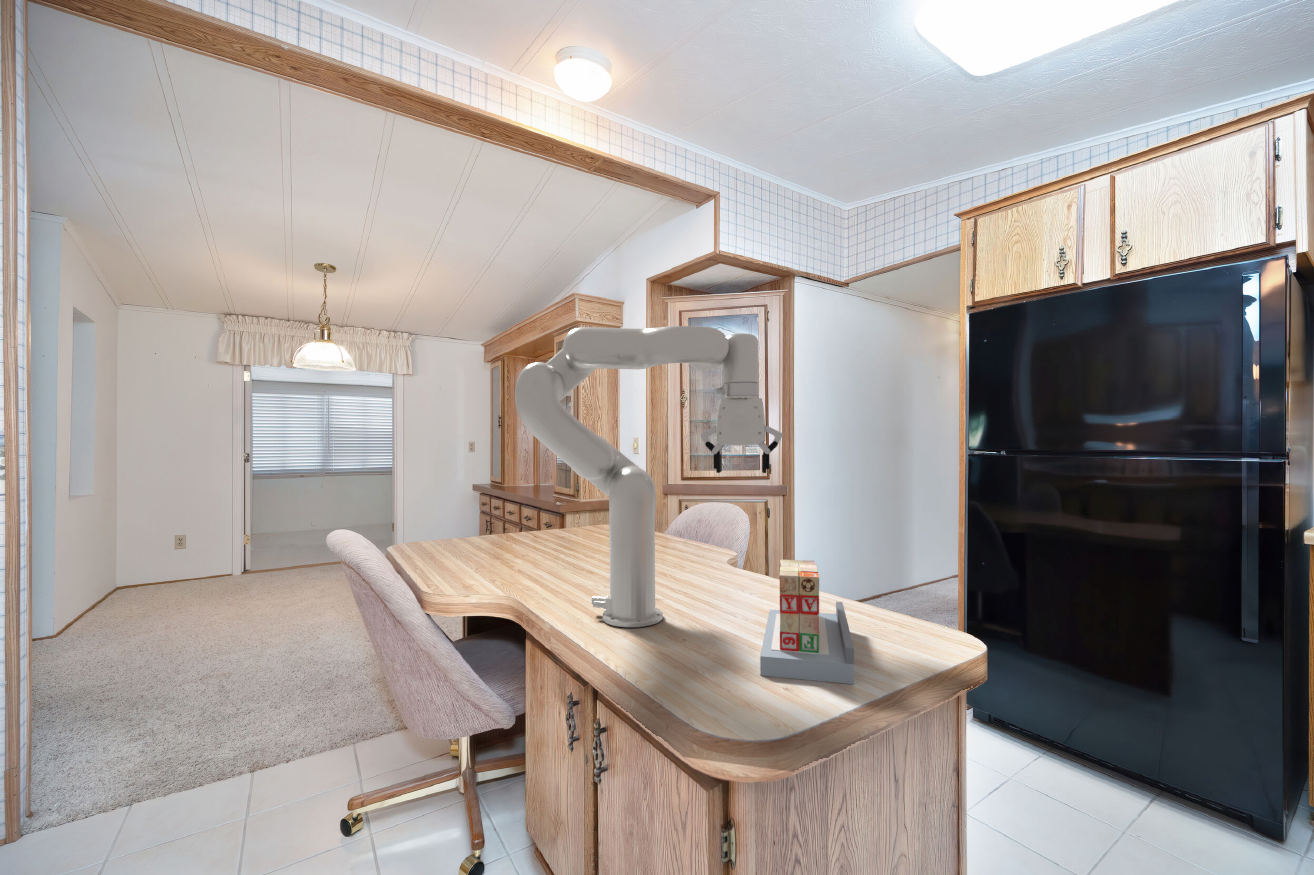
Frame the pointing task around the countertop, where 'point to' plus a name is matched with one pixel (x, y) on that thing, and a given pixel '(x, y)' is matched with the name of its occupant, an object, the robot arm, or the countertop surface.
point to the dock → (821, 666)
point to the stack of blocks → (799, 606)
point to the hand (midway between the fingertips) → (741, 472)
